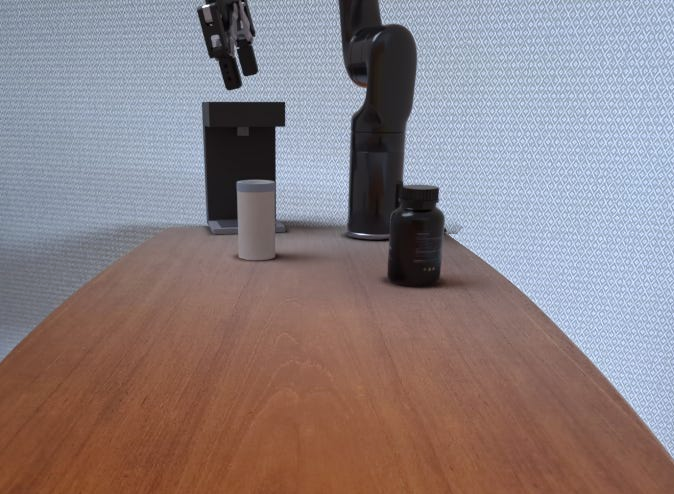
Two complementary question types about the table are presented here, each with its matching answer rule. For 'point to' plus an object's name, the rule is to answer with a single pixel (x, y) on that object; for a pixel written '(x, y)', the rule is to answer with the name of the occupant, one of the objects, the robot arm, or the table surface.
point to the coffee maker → (237, 155)
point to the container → (256, 219)
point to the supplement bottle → (416, 237)
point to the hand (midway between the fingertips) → (243, 81)
